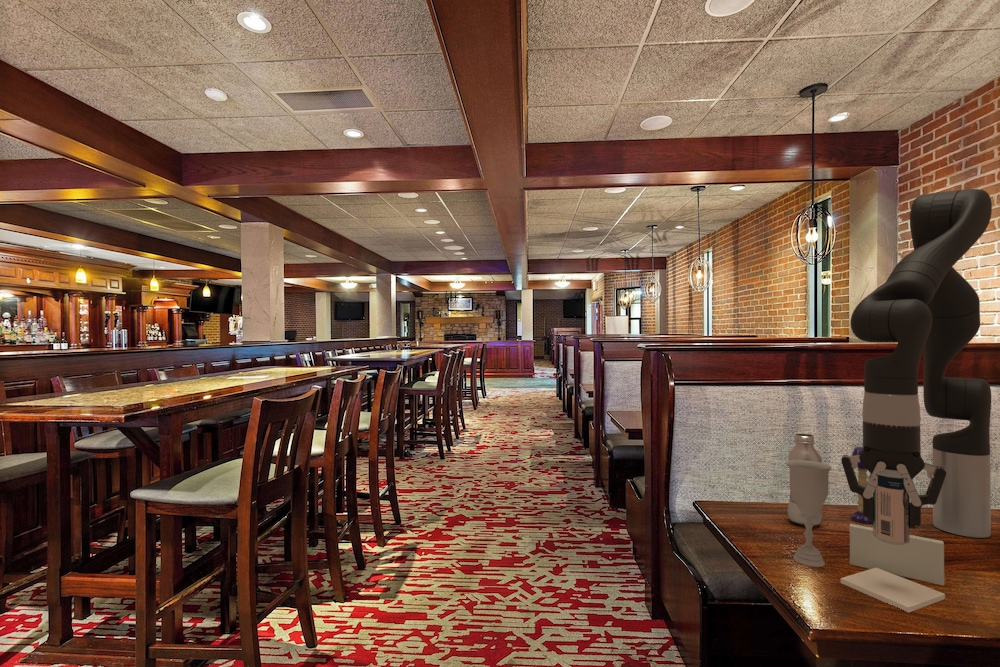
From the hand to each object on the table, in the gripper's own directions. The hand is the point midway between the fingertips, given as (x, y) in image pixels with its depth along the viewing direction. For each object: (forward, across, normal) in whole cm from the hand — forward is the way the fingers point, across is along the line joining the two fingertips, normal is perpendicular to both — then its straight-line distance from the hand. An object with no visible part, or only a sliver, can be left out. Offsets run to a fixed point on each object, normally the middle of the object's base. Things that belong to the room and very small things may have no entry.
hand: (891, 523), depth 82 cm
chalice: (+11, -12, +5) cm, 17 cm away
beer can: (+3, 0, 0) cm, 3 cm away
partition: (+11, +1, +8) cm, 14 cm away
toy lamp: (+11, -4, +36) cm, 38 cm away
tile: (+11, 0, 0) cm, 11 cm away
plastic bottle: (+11, -15, +26) cm, 32 cm away
